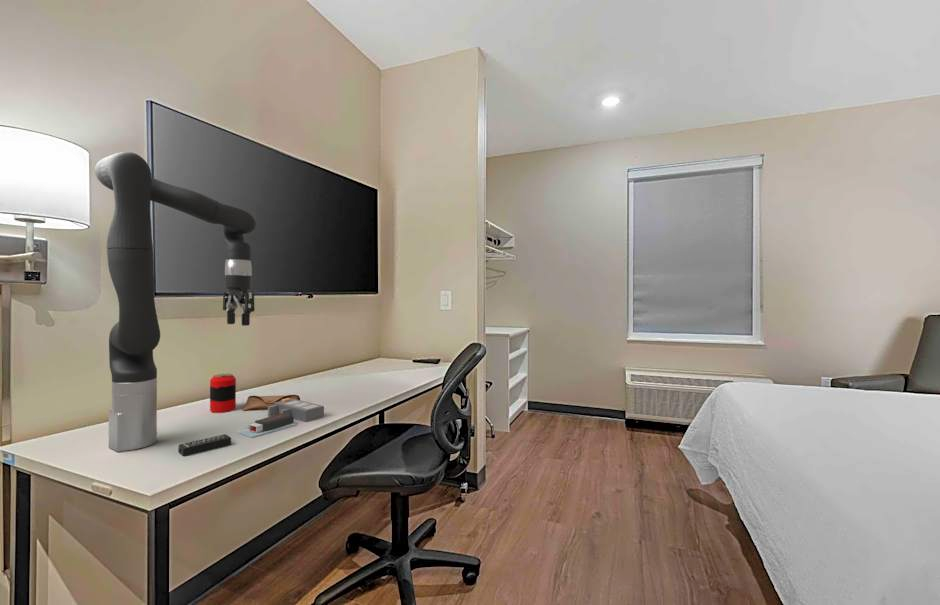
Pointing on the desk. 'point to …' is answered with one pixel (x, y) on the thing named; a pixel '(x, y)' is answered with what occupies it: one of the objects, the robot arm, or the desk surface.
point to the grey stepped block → (297, 409)
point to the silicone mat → (254, 434)
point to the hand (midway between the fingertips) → (238, 324)
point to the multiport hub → (204, 445)
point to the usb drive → (271, 423)
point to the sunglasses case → (264, 401)
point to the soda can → (222, 393)
